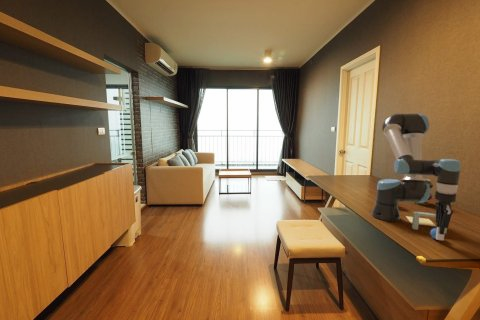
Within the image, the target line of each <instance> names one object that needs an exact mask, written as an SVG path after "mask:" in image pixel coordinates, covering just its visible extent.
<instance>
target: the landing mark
mask: <svg viewBox="0 0 480 320" xmlns="http://www.w3.org/2000/svg"><path fill="white" fill-rule="evenodd" d="M405 218H406V219H407V220H408V221H409V222H410V224H412V222H413V216H407V215H405ZM418 225H421V226H430V227H437V224H435V223H434V222H433V221H432V220H430V218H423V217H419V224H418Z"/></svg>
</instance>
